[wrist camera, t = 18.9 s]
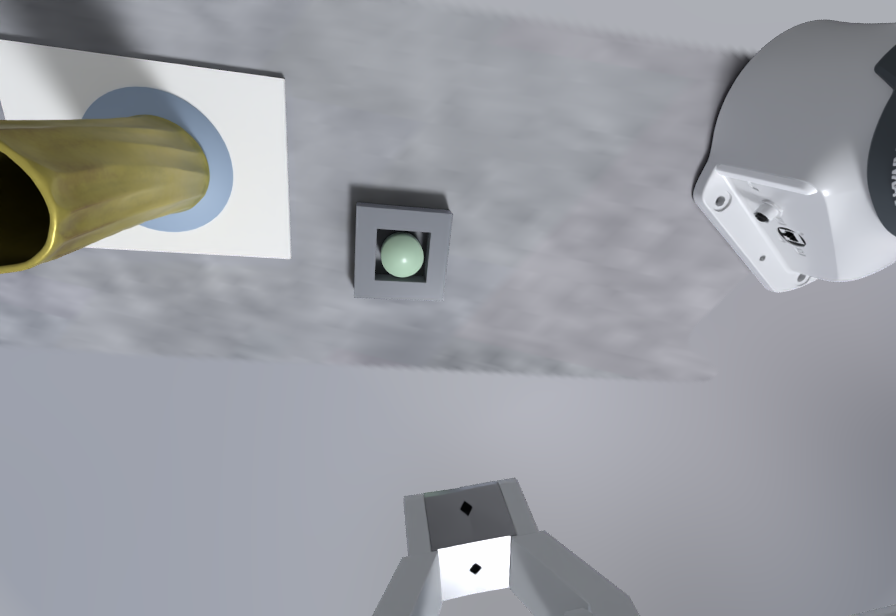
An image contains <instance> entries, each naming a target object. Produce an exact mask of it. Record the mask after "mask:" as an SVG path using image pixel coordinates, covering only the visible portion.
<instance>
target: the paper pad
mask: <svg viewBox="0 0 896 616" xmlns="http://www.w3.org/2000/svg"><path fill="white" fill-rule="evenodd" d="M0 101H1V104H2V108H3V111H4V115H5V119H6V120H74V119H109V118H120V117H130V116H134V115H144V114H145V115H154V116H158V117H161V118H164V119H167V120H169V121H171V122H173V123H175V124H177V125H179V126H180V127H182V128H183V129H184V130H185V131H186V132H187V133H188V134H190V135H191V136H192V137H193V138H194V139H195V141H196V142H197V143H198V144H199V146H200V147H201V149H202V150H203V152H204V154H205V156H206V159H207V162H208V165H209V171H210V181H209V186H208V189H207V192H206V194H205V196H204V197H203V198H202V199H201V200H200V201H199V202H198V203H197V204H196V205H195V206H194V207H193V208H191V209H189V210H187V211H183V212H180V213H174V214H169V215H166V216H163V217H159V218H156V219H153V220H149V221H146V222H144V223H142V224H139V225H137V226H134V227H132V228H129V229H126V230H123V231H121V232H119V233H116V234H114V235H112V236H109V237H106V238H104V239H102V240H99V241H97V242H95V243H93V244H90V245H88V246H86V248H104V249H122V250H139V251H157V252H175V253H192V254H210V255H228V256H246V257H263V258H281V259H291V258H292V257H291V229H290V202H289V175H288V148H287V121H286V93H285V79H282V78H274V77H267V76H260V75H253V74H246V73H238V72H231V71H224V70H217V69H209V68H202V67H195V66H188V65H181V64H173V63H166V62H159V61H152V60H144V59H137V58H130V57H123V56H116V55H108V54H101V53H94V52H87V51H80V50H72V49H65V48H58V47H51V46H43V45H36V44H29V43H22V42H15V41H7V40H0Z"/></svg>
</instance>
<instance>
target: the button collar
mask: <svg viewBox="0 0 896 616" xmlns="http://www.w3.org/2000/svg"><path fill="white" fill-rule="evenodd" d="M452 219H453V214H452V212H451V211H450V210H442V209H430V208H418V207H406V206H395V205H383V204H371V203H359V202H357V205H356V240H355V280H354V298H374V299H399V300H424V301H443V297H444V288H445V279H446V271H447V262H448V254H449V245H450V236H451V228H452ZM377 229H388V230H401V231H415V232H428V238H427V249H426V259H425V270H424V276H408V277H397V276H394V275H392V274H375V260H376V238H377Z"/></svg>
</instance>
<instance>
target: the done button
mask: <svg viewBox="0 0 896 616" xmlns="http://www.w3.org/2000/svg"><path fill="white" fill-rule="evenodd" d="M423 259H424V254H423V250H422V247H421V245H420V243H419V241H418V240H417V239H416V238H415V237H414V236H413V235H411V234H409V233H406V232H396V233H393V234H391V235H390V236H388V237H387V238H386V239H385V240H384V242H383V244H382V247H381V260H382V264H383V266H384V268H385V269H386V270H387V271H388V272H389V273H390V274H392V275H394V276H397V277H408V276H411V275H413V274H415V273H416V272H417V271H418V270H419V269H420V267H421V266H422V263H423Z"/></svg>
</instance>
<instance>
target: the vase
mask: <svg viewBox="0 0 896 616" xmlns="http://www.w3.org/2000/svg"><path fill="white" fill-rule="evenodd" d="M209 181H210V171H209V165H208V162H207V159H206V156H205V154H204V152H203V150H202V149H201V147H200V146H199V144H198V143H197V142H196V141H195V139H194V138H193V137H192V136H191V135H190V134H188V133H187V132H186V131H185V130H184V129H183V128H182V127H180V126H179V125H177V124H175V123H173V122H171V121H169V120H167V119H164V118H161V117H158V116H154V115H145V114H144V115H134V116H130V117H120V118H109V119H74V120H0V274H3V273H10V272H17V271H22V270H26V269H30V268H32V267H35V266H37V265H39V264H41V263H44V262H48V261H51V260H54V259H57V258H59V257H62V256H64V255H67V254H69V253H71V252H74V251H76V250H79V249H81V248H83V247H86V246H88V245H90V244H93V243H95V242H97V241H99V240H102V239H104V238H106V237H109V236H112V235H114V234H116V233H119V232H121V231H123V230H126V229H129V228H132V227H134V226H137V225H139V224H142V223H144V222H146V221H149V220H153V219H156V218H159V217H163V216H166V215H169V214H174V213H180V212H183V211H187V210H189V209H191V208H193V207H194V206H195V205H196V204H197V203H198V202H199V201H200V200H201V199H202V198H203V197H204V196H205V194H206V192H207V189H208V186H209Z"/></svg>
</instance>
